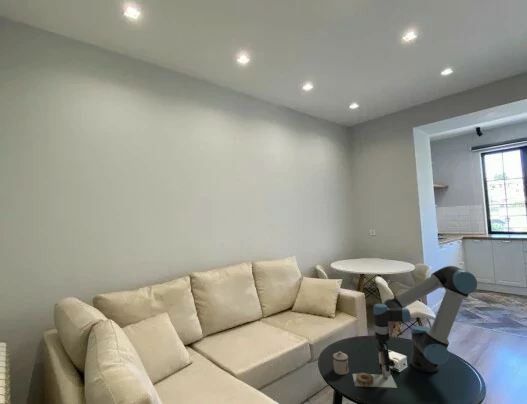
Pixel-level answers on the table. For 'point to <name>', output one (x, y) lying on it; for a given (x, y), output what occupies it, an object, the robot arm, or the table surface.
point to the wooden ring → (361, 379)
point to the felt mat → (378, 381)
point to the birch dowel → (383, 366)
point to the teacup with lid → (340, 363)
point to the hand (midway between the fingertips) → (384, 369)
